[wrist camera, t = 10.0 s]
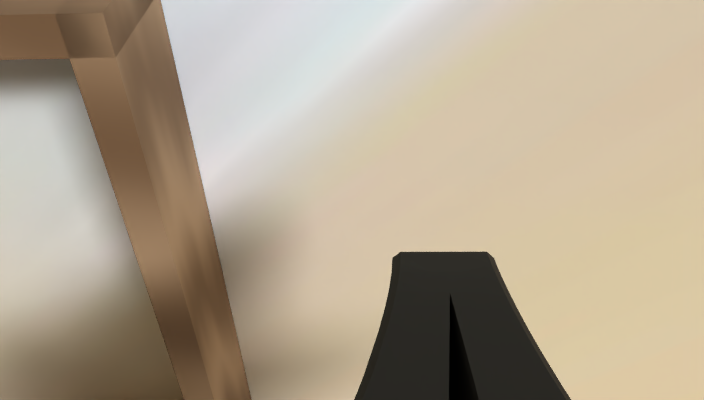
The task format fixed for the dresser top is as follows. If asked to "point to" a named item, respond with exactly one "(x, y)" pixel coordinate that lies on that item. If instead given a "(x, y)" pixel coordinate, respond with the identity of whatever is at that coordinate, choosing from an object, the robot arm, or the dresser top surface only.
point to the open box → (145, 169)
